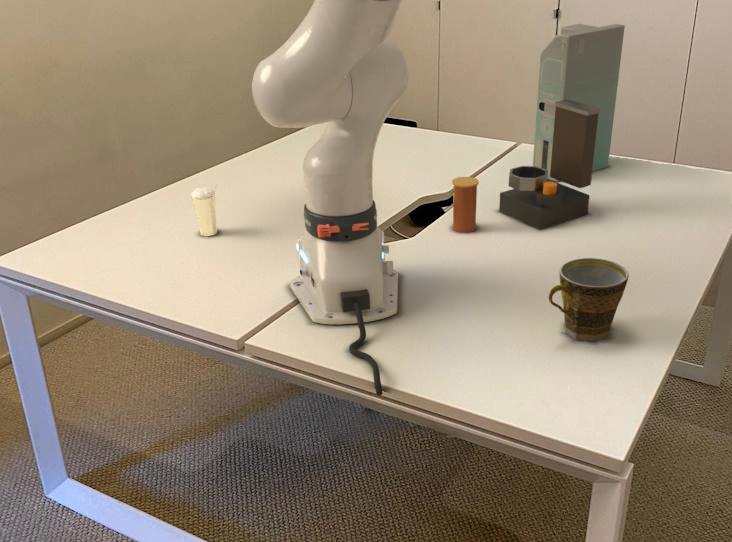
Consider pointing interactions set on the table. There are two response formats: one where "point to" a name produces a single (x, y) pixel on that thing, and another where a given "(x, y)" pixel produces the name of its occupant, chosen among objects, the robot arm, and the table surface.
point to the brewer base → (544, 205)
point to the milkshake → (205, 210)
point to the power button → (549, 188)
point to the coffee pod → (464, 204)
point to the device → (578, 84)
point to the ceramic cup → (590, 296)
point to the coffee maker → (565, 149)
